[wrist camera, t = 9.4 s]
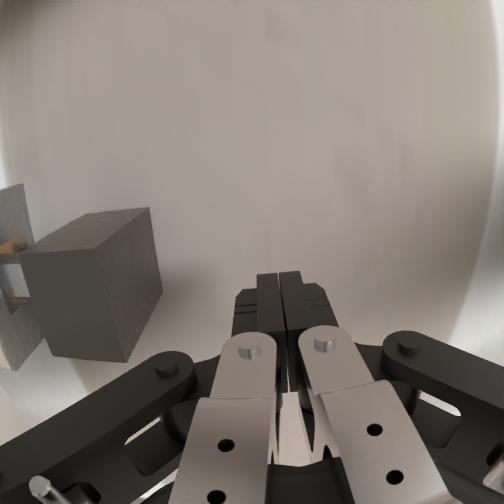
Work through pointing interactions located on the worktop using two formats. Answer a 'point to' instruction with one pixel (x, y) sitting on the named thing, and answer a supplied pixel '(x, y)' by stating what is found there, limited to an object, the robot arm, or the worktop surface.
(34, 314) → the gauge housing
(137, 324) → the dark cube on shaft
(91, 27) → the worktop surface
